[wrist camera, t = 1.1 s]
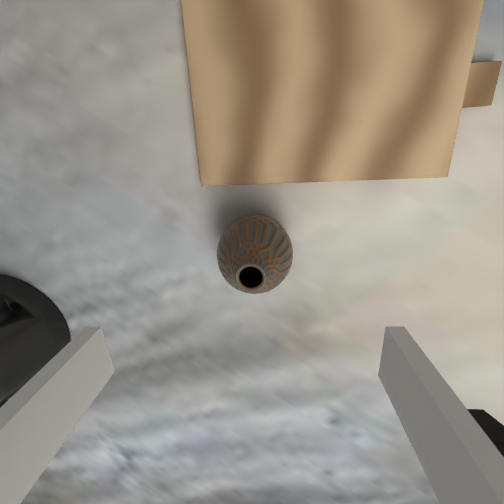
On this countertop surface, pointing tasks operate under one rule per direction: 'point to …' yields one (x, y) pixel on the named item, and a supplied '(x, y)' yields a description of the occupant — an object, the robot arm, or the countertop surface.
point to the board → (331, 87)
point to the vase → (254, 254)
